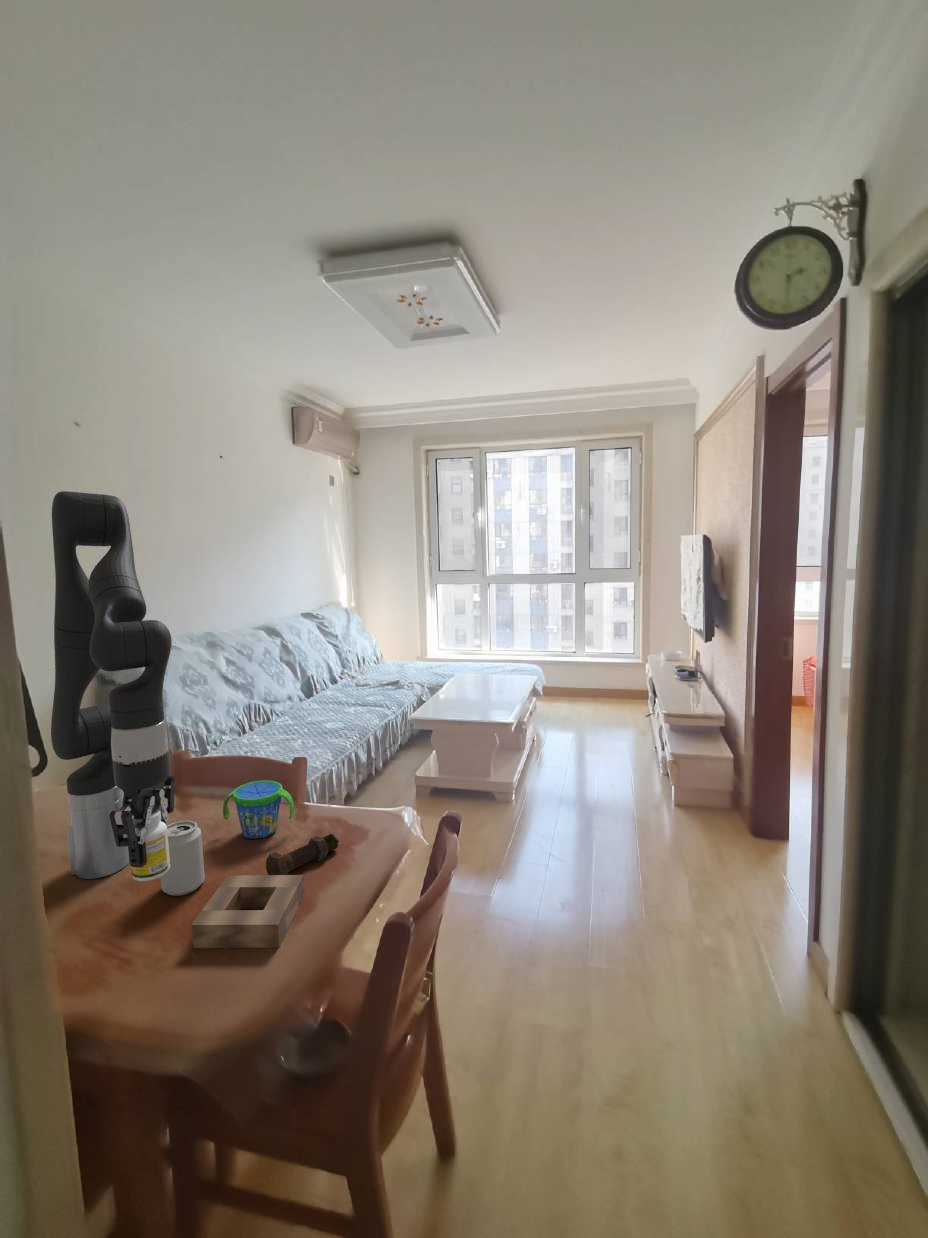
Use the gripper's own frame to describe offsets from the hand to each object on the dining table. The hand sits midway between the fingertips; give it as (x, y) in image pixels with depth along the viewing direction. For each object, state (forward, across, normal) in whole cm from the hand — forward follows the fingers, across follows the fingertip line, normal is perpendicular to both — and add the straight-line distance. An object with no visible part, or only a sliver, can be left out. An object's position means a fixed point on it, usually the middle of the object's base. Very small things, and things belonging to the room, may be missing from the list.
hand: (149, 854), depth 91 cm
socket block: (+17, -8, +12) cm, 22 cm away
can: (+17, -18, -5) cm, 25 cm away
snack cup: (+17, -39, +2) cm, 42 cm away
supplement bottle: (+3, 0, 0) cm, 3 cm away
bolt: (+17, -26, +17) cm, 35 cm away
